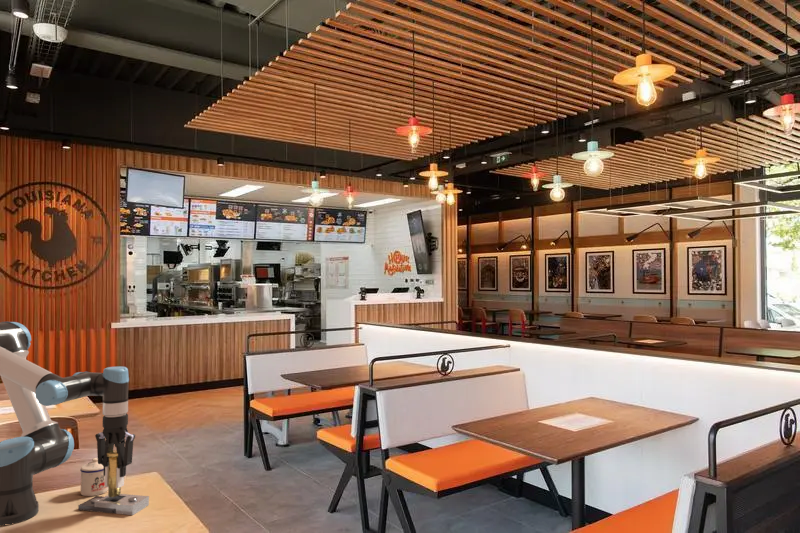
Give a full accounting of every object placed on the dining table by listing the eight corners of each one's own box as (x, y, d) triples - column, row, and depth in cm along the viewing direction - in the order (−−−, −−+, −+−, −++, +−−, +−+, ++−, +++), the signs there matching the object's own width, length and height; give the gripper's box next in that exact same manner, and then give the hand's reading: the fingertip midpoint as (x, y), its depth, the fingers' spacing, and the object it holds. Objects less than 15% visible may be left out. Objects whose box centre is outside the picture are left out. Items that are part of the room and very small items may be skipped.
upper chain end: (94, 511, 181) (94, 500, 181) (111, 501, 188) (112, 491, 188) (132, 515, 178) (132, 504, 178) (148, 505, 186) (148, 494, 186)
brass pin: (102, 497, 182) (103, 453, 182) (113, 491, 187) (113, 449, 187) (115, 498, 181) (116, 454, 181) (125, 492, 186) (126, 450, 186)
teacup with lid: (92, 498, 191) (93, 464, 192) (73, 494, 195) (74, 460, 195) (121, 486, 203) (122, 454, 203) (103, 483, 206) (103, 451, 206)
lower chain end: (78, 509, 182) (78, 503, 182) (96, 500, 190) (96, 494, 190) (116, 513, 179) (116, 507, 179) (132, 503, 187) (132, 497, 187)
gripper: (145, 412, 186) (144, 483, 186) (101, 410, 190) (100, 480, 189) (130, 418, 179) (129, 492, 178) (85, 415, 182) (84, 488, 182)
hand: (114, 485), depth 184 cm, fingers closed on brass pin, 3 cm apart
